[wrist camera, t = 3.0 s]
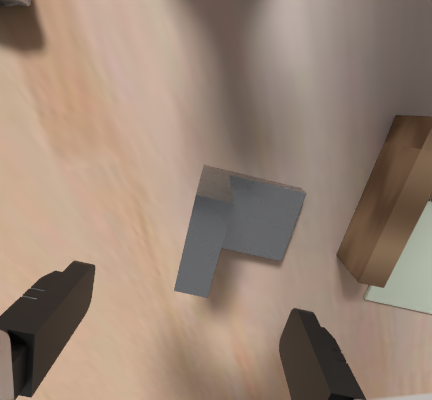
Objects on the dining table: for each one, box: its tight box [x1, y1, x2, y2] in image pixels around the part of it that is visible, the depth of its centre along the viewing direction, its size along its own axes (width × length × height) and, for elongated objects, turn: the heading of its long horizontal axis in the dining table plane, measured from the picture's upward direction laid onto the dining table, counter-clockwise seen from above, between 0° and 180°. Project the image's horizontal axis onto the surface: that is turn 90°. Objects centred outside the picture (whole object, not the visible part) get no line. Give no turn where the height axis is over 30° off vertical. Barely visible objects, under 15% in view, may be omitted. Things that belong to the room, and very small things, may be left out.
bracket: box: [174, 165, 306, 298], centre depth 19 cm, size 8×6×8 cm
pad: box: [364, 201, 432, 314], centre depth 24 cm, size 10×8×1 cm
